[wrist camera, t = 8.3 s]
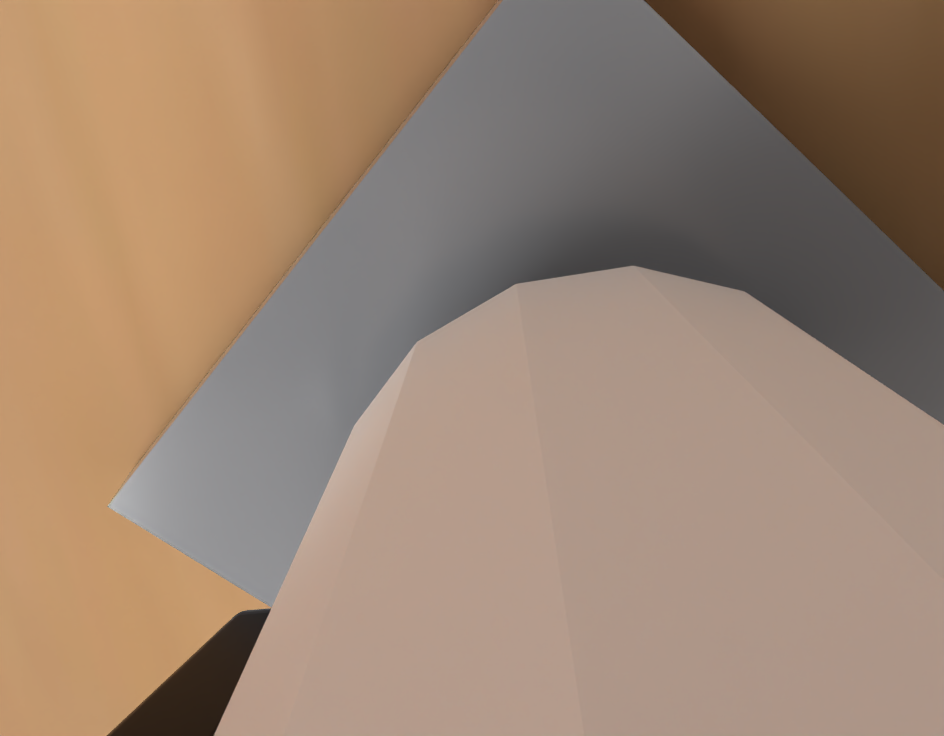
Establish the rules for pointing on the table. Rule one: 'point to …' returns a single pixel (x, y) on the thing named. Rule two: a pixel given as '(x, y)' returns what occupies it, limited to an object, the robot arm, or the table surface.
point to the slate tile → (521, 259)
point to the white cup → (616, 534)
